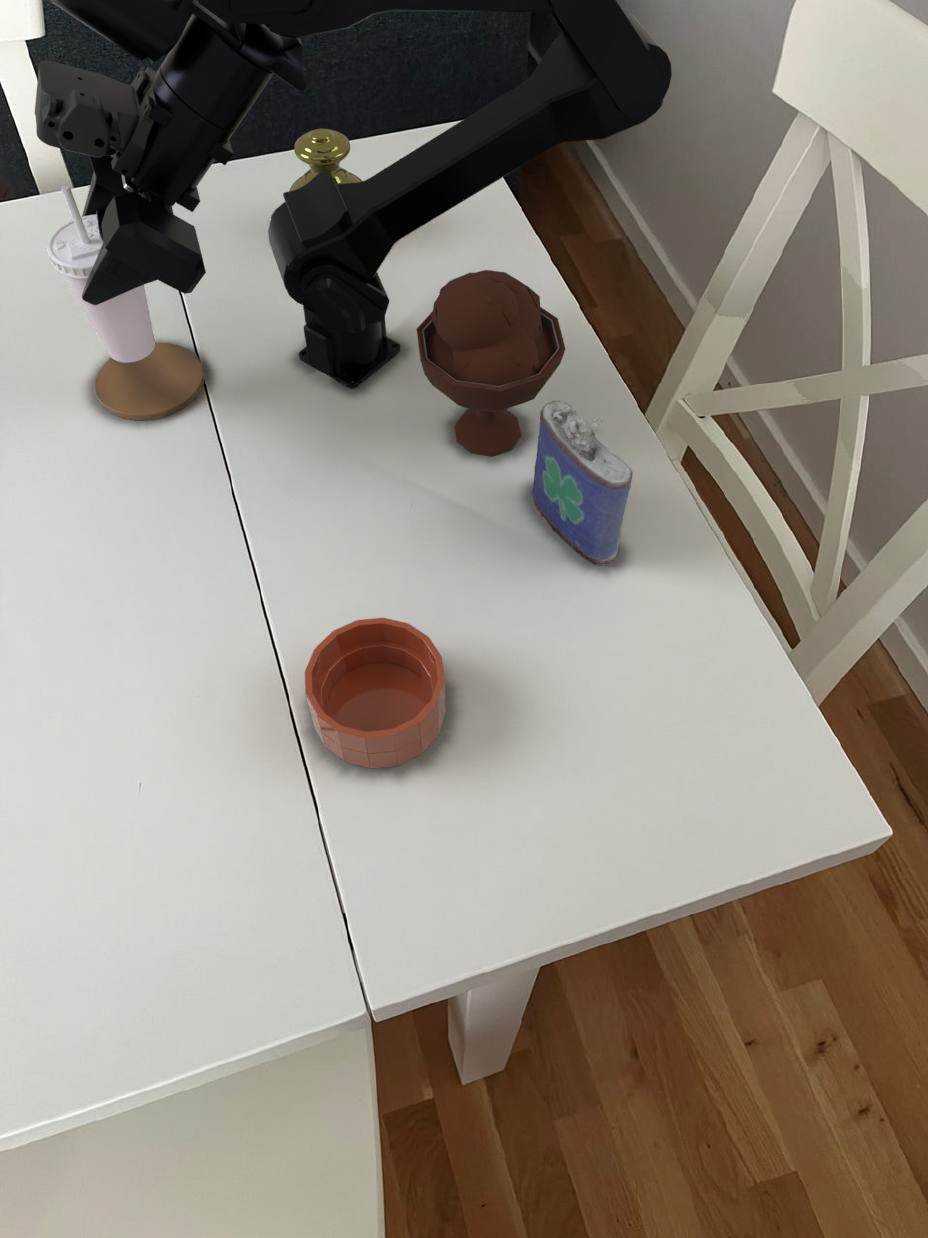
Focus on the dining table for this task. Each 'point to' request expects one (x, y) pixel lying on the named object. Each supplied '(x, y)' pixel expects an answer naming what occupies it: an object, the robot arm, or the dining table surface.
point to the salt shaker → (323, 156)
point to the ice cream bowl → (489, 354)
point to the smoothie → (115, 319)
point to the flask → (579, 484)
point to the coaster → (150, 383)
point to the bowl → (376, 692)
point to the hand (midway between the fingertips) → (84, 273)
